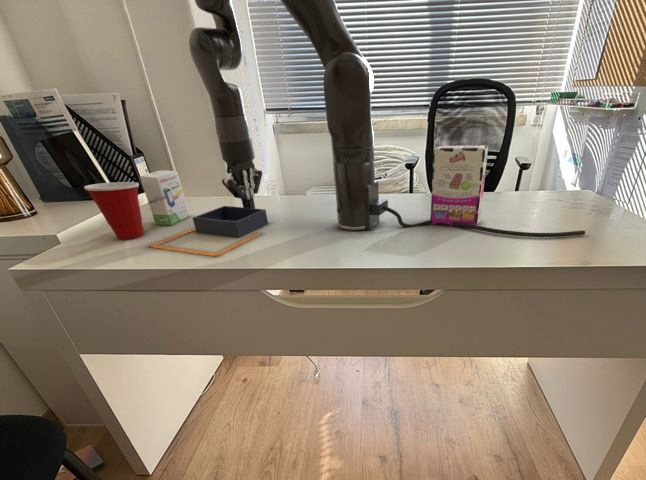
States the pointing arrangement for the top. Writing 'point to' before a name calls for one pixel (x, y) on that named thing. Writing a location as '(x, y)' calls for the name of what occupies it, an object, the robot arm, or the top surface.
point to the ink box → (165, 197)
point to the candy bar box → (458, 184)
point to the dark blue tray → (230, 221)
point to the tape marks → (198, 251)
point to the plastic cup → (119, 207)
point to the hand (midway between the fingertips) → (250, 213)
